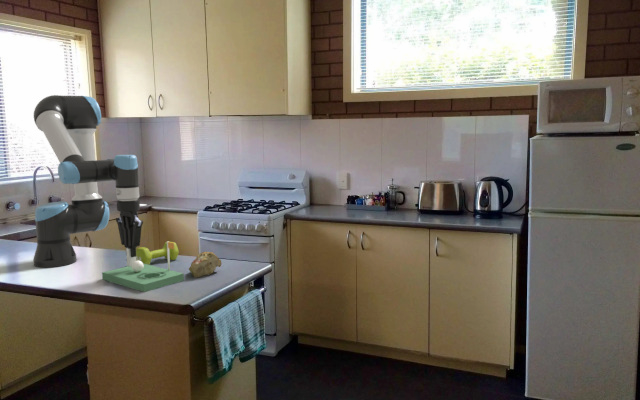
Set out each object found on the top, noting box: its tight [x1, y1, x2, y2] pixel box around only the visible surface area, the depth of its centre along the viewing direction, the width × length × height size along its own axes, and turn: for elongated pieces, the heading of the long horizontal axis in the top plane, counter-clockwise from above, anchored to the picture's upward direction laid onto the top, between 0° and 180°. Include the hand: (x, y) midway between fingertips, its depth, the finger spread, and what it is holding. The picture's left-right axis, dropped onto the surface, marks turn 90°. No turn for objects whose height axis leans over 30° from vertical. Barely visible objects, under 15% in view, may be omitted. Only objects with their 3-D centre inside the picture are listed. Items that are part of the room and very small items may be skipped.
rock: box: [188, 251, 222, 279], centre depth 198 cm, size 12×9×10 cm
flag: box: [166, 240, 175, 271], centre depth 191 cm, size 4×1×13 cm, turn 53°
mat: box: [101, 263, 185, 293], centre depth 189 cm, size 24×16×2 cm, turn 53°
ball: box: [132, 260, 144, 272], centre depth 191 cm, size 4×4×4 cm
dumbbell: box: [136, 241, 180, 265], centre depth 213 cm, size 16×8×7 cm, turn 140°
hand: (131, 265), depth 193 cm, fingers closed
